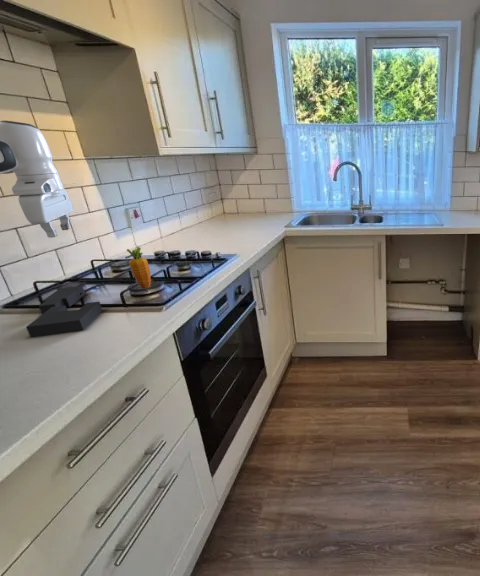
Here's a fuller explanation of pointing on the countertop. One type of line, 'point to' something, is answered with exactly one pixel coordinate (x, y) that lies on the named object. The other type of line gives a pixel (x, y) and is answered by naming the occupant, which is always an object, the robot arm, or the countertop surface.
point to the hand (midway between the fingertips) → (60, 233)
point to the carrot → (140, 268)
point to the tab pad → (62, 298)
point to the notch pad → (64, 320)
